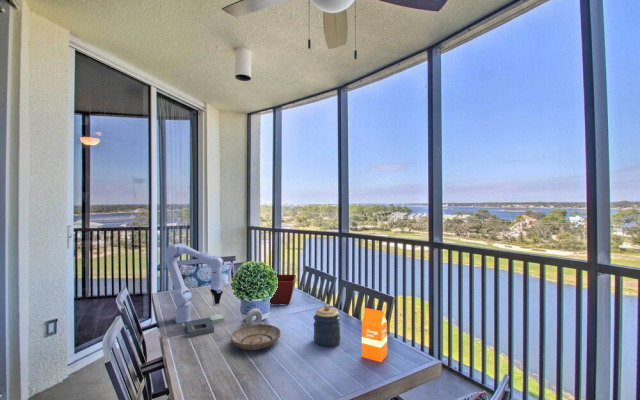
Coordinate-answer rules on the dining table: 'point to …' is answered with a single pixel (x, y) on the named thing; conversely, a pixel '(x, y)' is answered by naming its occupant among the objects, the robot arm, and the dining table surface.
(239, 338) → the brown shallow round bowl
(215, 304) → the barrel peg
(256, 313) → the grey stone ring
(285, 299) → the plant pot
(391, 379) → the dining table surface
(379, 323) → the orange juice
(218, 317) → the pale green block
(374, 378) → the dining table surface
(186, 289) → the robot arm
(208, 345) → the dining table surface
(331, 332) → the canister
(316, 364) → the dining table surface
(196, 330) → the hole plate
